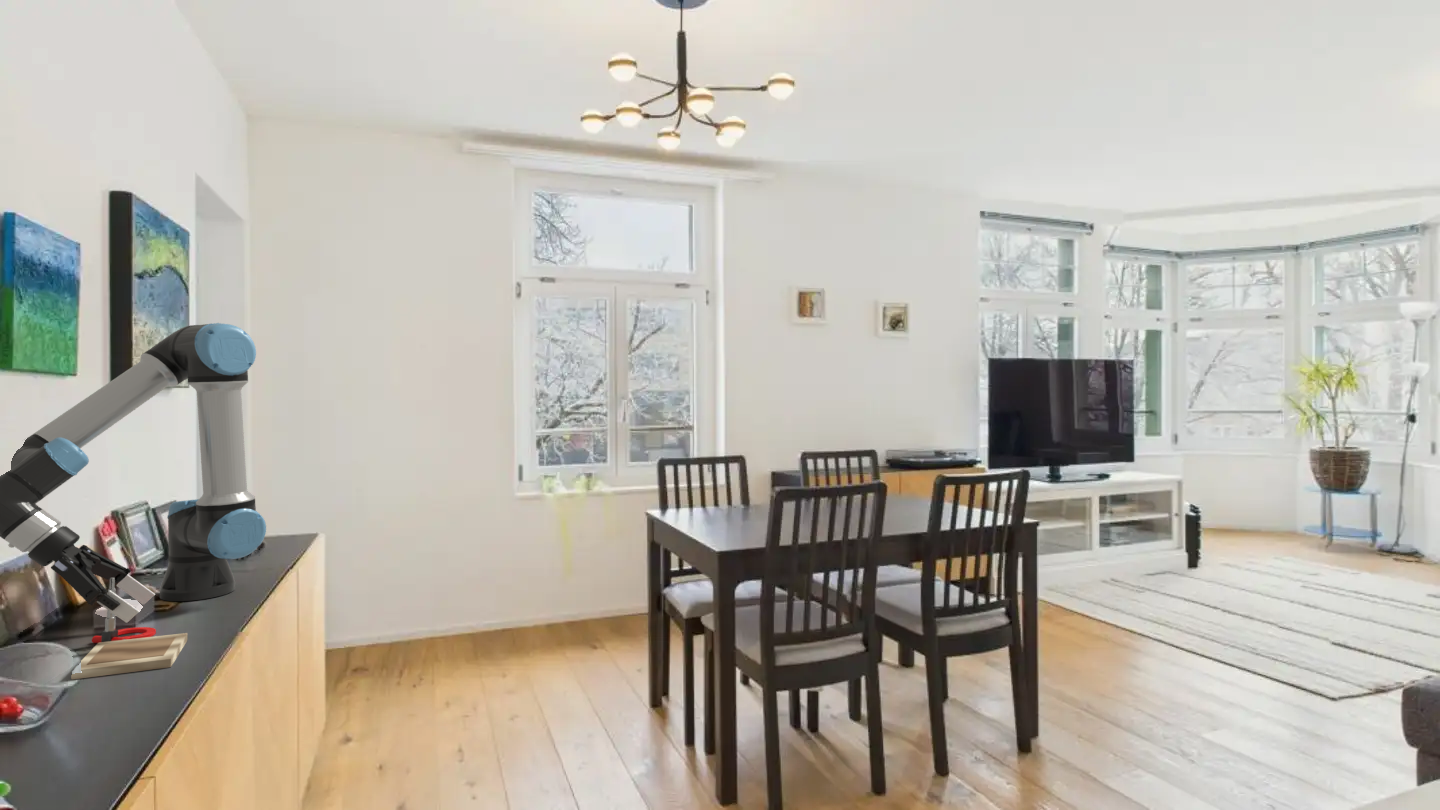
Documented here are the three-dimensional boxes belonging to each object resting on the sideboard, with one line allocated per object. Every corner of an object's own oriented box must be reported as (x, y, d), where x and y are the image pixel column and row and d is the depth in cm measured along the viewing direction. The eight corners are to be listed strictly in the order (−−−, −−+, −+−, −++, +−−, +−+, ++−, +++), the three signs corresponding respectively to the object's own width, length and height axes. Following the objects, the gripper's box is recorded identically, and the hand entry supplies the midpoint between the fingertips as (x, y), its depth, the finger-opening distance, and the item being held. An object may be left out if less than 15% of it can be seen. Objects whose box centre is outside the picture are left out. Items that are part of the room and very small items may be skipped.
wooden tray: (98, 650, 144) (98, 642, 144) (187, 640, 150) (187, 632, 150) (71, 679, 130) (71, 670, 130) (170, 667, 136) (170, 658, 136)
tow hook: (130, 631, 157) (86, 644, 148) (133, 568, 157) (89, 577, 148) (166, 634, 156) (124, 647, 147) (168, 570, 156) (127, 579, 147)
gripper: (49, 542, 156) (140, 606, 163) (0, 568, 134) (108, 641, 141) (82, 514, 158) (170, 579, 165) (39, 535, 136) (143, 609, 143)
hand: (142, 608), depth 153 cm, fingers open, 13 cm apart
